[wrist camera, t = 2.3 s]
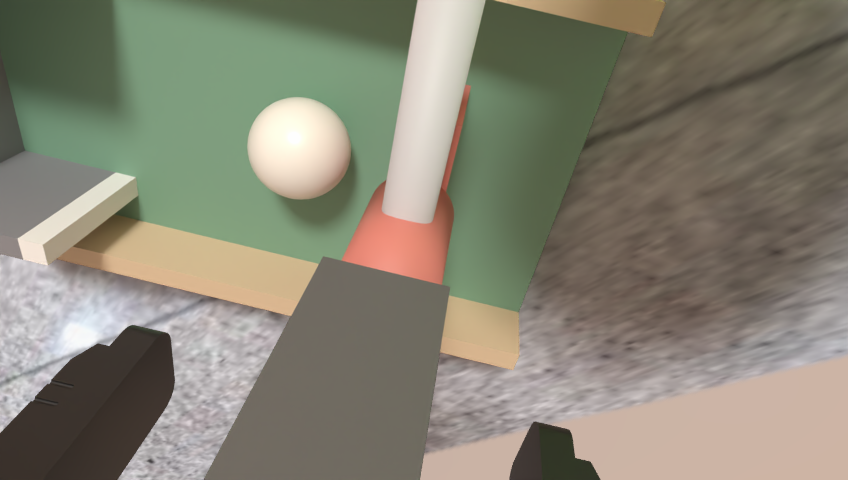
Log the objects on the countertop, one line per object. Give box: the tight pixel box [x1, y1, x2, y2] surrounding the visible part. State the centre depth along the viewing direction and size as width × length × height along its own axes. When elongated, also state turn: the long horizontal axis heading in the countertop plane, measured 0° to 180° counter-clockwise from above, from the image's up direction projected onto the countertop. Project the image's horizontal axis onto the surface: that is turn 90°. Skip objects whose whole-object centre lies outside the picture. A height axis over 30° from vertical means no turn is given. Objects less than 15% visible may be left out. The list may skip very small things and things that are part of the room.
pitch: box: [0, 0, 666, 370], centre depth 21 cm, size 26×16×7 cm, turn 79°
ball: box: [247, 97, 351, 200], centre depth 21 cm, size 4×4×4 cm
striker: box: [204, 0, 486, 480], centre depth 16 cm, size 3×17×16 cm, turn 169°
